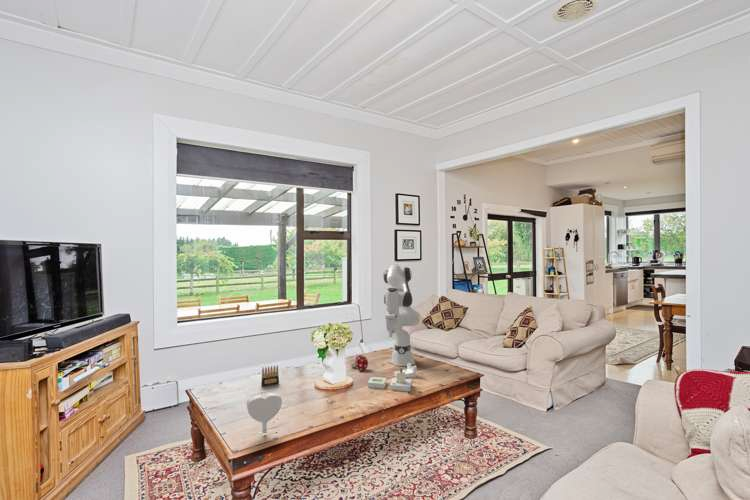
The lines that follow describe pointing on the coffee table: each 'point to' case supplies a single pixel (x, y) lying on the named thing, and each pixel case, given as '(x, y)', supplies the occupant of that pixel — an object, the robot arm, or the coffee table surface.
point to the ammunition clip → (270, 376)
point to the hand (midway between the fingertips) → (392, 334)
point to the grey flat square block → (377, 382)
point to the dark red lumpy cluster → (360, 363)
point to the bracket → (409, 371)
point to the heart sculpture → (264, 408)
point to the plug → (400, 376)
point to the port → (401, 385)
